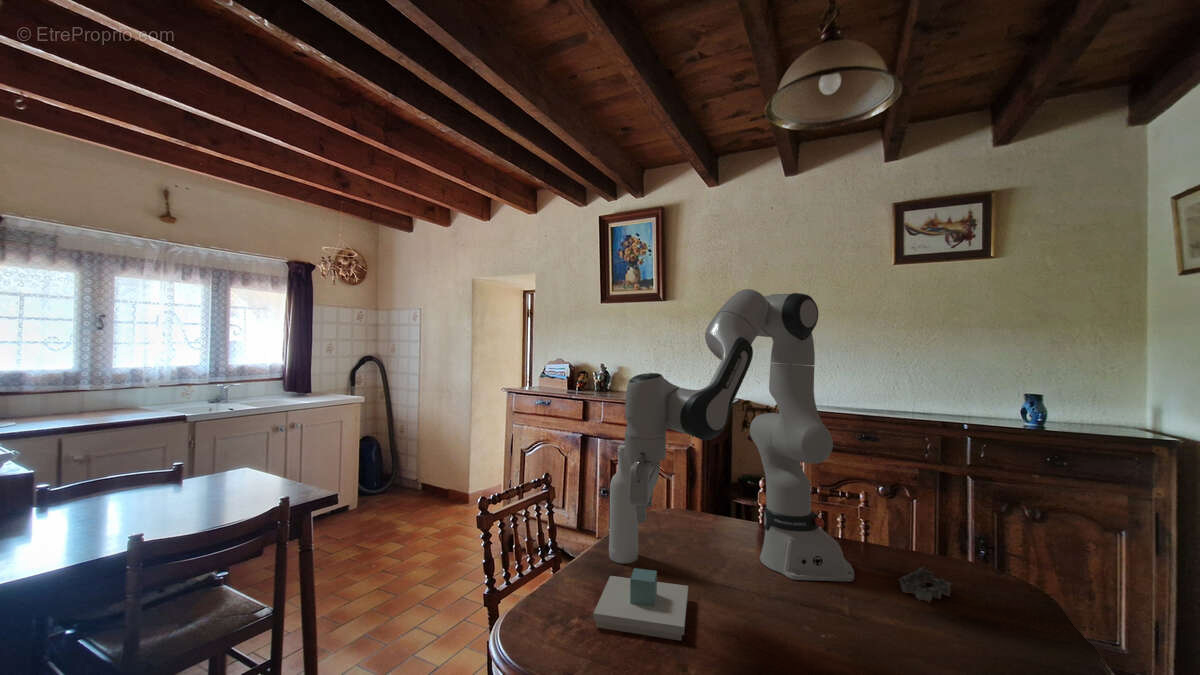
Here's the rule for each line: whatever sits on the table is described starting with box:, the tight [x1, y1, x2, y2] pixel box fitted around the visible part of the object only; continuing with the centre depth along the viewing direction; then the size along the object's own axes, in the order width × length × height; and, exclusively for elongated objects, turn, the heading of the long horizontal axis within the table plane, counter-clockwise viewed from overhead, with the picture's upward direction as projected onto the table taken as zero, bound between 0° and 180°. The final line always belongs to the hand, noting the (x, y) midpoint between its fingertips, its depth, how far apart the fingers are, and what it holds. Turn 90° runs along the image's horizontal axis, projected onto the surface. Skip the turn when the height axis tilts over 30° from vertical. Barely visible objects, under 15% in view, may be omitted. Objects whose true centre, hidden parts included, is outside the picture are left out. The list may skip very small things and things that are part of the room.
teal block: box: [630, 567, 658, 607], centre depth 98 cm, size 5×5×5 cm
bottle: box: [608, 444, 639, 565], centre depth 125 cm, size 8×8×30 cm
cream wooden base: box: [592, 575, 689, 641], centre depth 98 cm, size 18×16×3 cm
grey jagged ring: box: [896, 566, 953, 601], centre depth 109 cm, size 11×8×4 cm
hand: (644, 513), depth 99 cm, fingers open, 8 cm apart
